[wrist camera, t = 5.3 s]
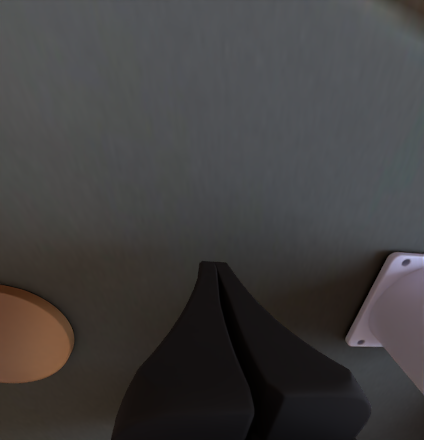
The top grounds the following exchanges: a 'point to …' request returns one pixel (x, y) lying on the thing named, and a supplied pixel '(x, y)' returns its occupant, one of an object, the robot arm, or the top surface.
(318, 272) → the top surface
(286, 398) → the robot arm
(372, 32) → the top surface
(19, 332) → the cork coaster
